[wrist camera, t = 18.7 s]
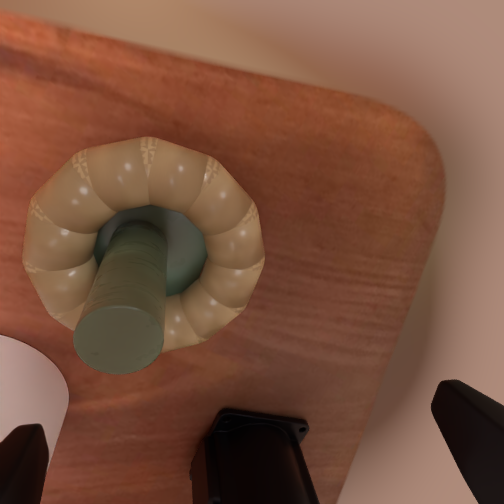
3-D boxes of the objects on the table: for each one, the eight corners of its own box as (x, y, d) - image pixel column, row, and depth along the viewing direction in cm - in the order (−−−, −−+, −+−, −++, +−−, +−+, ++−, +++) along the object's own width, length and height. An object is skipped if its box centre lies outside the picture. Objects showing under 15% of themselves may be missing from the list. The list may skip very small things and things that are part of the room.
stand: (224, 195, 17) (259, 279, 10) (183, 299, 19) (187, 430, 12) (90, 148, 15) (16, 210, 8) (60, 269, 17) (-20, 405, 10)
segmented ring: (286, 176, 16) (304, 192, 14) (220, 343, 19) (226, 377, 17) (55, 98, 13) (31, 103, 11) (23, 310, 16) (0, 346, 14)
